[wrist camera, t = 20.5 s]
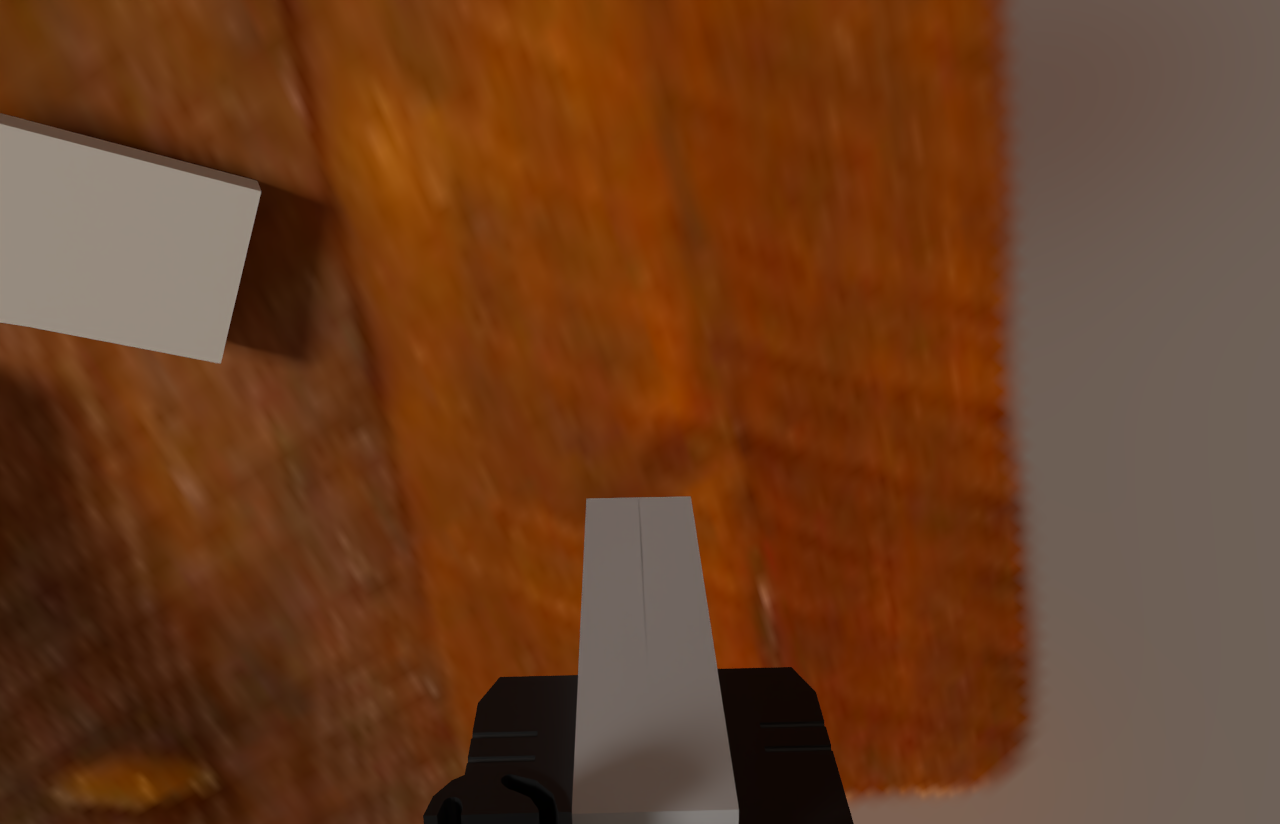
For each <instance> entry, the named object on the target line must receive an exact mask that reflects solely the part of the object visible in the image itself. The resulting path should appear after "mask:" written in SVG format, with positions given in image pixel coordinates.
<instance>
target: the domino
mask: <svg viewBox="0 0 1280 824" xmlns="http://www.w3.org/2000/svg"><path fill="white" fill-rule="evenodd" d="M260 195H261V189H260V186H259V184H258V181H257V180H253V179H249V178H245V177H241V176H238V175H234V174H230V173H226V172H222V171H219V170H215V169H211V168H207V167H203V166H200V165H196V164H192V163H188V162H184V161H181V160H177V159H173V158H169V157H165V156H162V155H158V154H154V153H150V152H146V151H143V150H139V149H135V148H131V147H127V146H123V145H120V144H116V143H112V142H108V141H104V140H101V139H97V138H93V137H89V136H85V135H82V134H78V133H74V132H70V131H66V130H63V129H59V128H55V127H51V126H47V125H44V124H40V123H36V122H32V121H28V120H25V119H21V118H17V117H13V116H9V115H6V114H2V113H0V321H1V322H6V323H12V324H17V325H22V326H27V327H32V328H38V329H43V330H48V331H53V332H59V333H64V334H69V335H74V336H79V337H85V338H90V339H95V340H100V341H105V342H111V343H116V344H121V345H126V346H132V347H137V348H142V349H147V350H152V351H158V352H163V353H168V354H173V355H178V356H184V357H189V358H194V359H199V360H205V361H210V362H215V363H220V364H221V360H222V356H223V352H224V347H225V343H226V339H227V335H228V331H229V326H230V322H231V318H232V314H233V309H234V305H235V301H236V297H237V292H238V288H239V284H240V280H241V275H242V271H243V267H244V263H245V259H246V254H247V250H248V246H249V242H250V237H251V233H252V229H253V225H254V220H255V216H256V212H257V208H258V204H259V199H260Z"/></svg>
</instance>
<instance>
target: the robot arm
mask: <svg viewBox="0 0 1280 824" xmlns="http://www.w3.org/2000/svg"><path fill="white" fill-rule="evenodd" d="M423 818H424V824H853V820H852V817H851V813H850V810H849V806H848V803H847V799H846V796H845V792H844V789H843V785H842V782H841V778H840V775H839V771H838V768H837V764H836V761H835V757H834V754H833V751H831V744H830V740H829V737H828V733H827V730H826V727H824V719H823V716H822V712H821V709H820V705H819V702H818V698H817V695H816V692H815V691H814V690H813V689H812V688H811V687H810V686H809V685H808V684H807V683H806V682H805V681H804V680H803V679H802V678H801V677H800V676H799V675H798V674H797V672H796V671H795V670H794V669H793V668H792V667H782V668H740V669H717V664H716V658H715V651H714V645H713V638H712V632H711V625H710V619H709V612H708V606H707V599H706V593H705V586H704V580H703V573H702V567H701V560H700V554H699V547H698V541H697V534H696V528H695V521H694V515H693V508H692V502H691V496H690V497H643V498H595V499H586V520H585V542H584V563H583V584H582V605H581V627H580V648H579V669H578V675H569V676H527V677H500V678H499V679H498V680H497V681H496V682H495V684H494V685H493V686H492V687H491V688H490V690H489V691H488V692H487V693H486V694H485V696H484V697H483V698H482V699H481V700H480V702H479V703H478V706H477V712H476V717H475V722H474V728H473V738H472V739H471V744H470V750H469V755H468V763H467V766H466V771H465V775H464V776H461V777H459V778H457V779H454V780H452V781H451V782H450V783H448V784H447V785H446V786H445V787H444V788H443V789H441V790H440V791H439V792H438V793H437V794H435V795H434V796H433V798H432V800H431V802H430V804H429V806H428V808H427V810H426V812H425V814H424V815H423Z"/></svg>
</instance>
